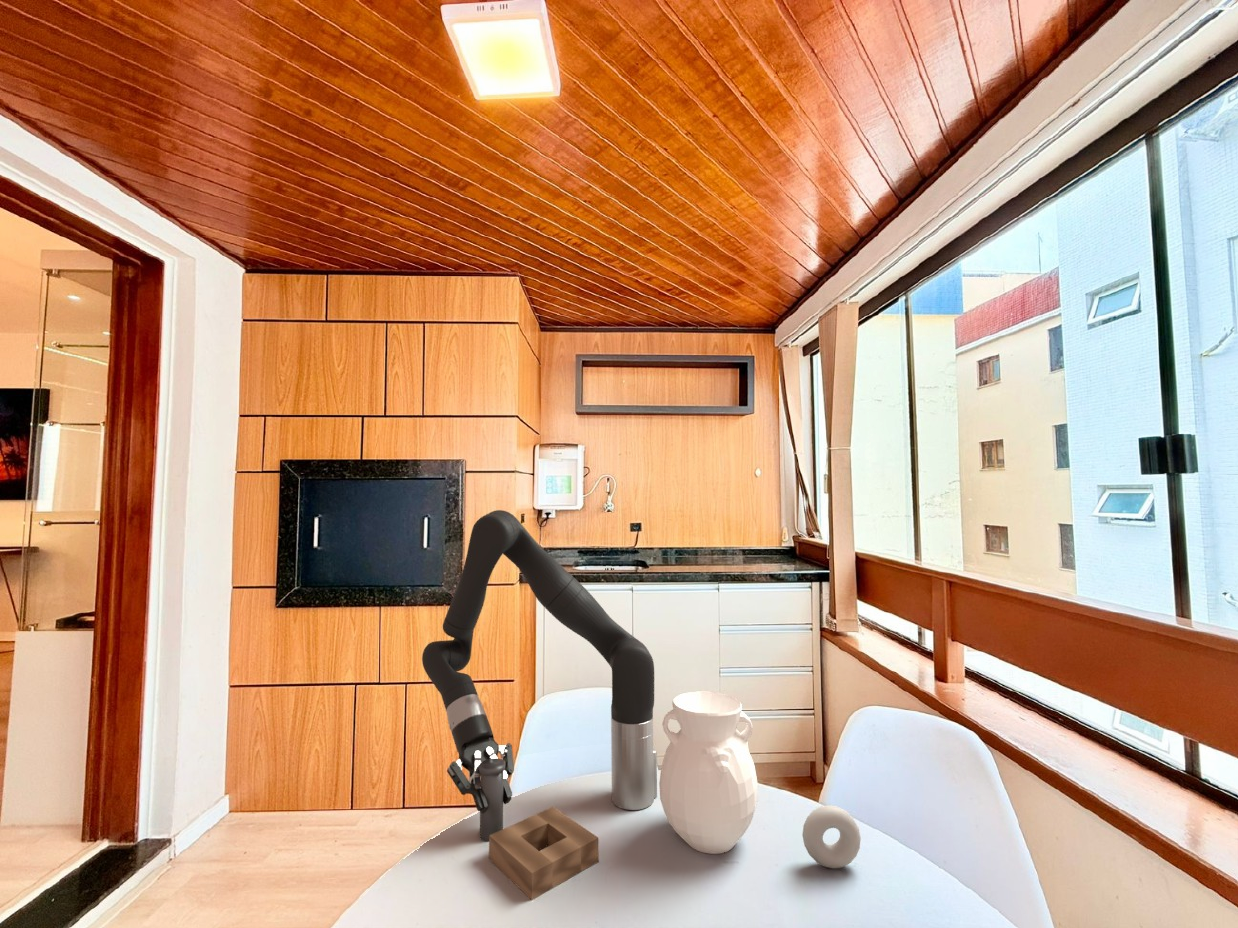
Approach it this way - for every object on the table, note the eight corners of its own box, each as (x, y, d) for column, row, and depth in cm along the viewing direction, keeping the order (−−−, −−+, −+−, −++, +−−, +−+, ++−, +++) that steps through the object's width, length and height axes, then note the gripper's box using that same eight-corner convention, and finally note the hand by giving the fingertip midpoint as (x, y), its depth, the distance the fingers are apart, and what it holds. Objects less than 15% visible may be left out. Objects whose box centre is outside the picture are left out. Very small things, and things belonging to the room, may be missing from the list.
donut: (807, 873, 90) (805, 811, 92) (800, 860, 94) (798, 801, 95) (866, 873, 91) (862, 811, 92) (856, 860, 94) (853, 800, 95)
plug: (496, 823, 106) (497, 755, 107) (509, 834, 102) (510, 764, 104) (473, 833, 103) (474, 763, 104) (485, 845, 99) (487, 772, 100)
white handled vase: (751, 813, 109) (747, 687, 112) (767, 872, 91) (762, 720, 93) (661, 809, 111) (659, 685, 114) (659, 866, 93) (656, 717, 95)
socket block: (552, 828, 104) (553, 806, 105) (598, 861, 94) (598, 837, 95) (488, 859, 95) (489, 835, 95) (531, 899, 85) (532, 872, 85)
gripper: (442, 722, 105) (469, 811, 95) (505, 705, 115) (536, 784, 105) (430, 742, 109) (455, 830, 99) (492, 723, 118) (521, 802, 108)
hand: (496, 805), depth 102 cm, fingers closed on plug, 4 cm apart
